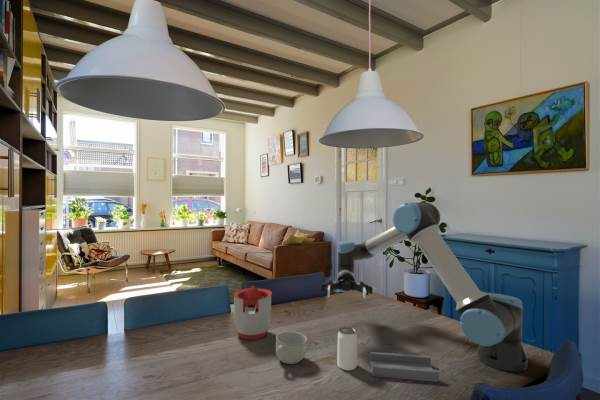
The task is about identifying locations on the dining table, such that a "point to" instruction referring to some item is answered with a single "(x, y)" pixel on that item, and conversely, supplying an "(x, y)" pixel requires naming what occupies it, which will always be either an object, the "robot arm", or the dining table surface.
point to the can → (347, 349)
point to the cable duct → (402, 366)
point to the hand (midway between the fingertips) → (346, 294)
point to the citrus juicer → (252, 312)
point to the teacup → (290, 347)
